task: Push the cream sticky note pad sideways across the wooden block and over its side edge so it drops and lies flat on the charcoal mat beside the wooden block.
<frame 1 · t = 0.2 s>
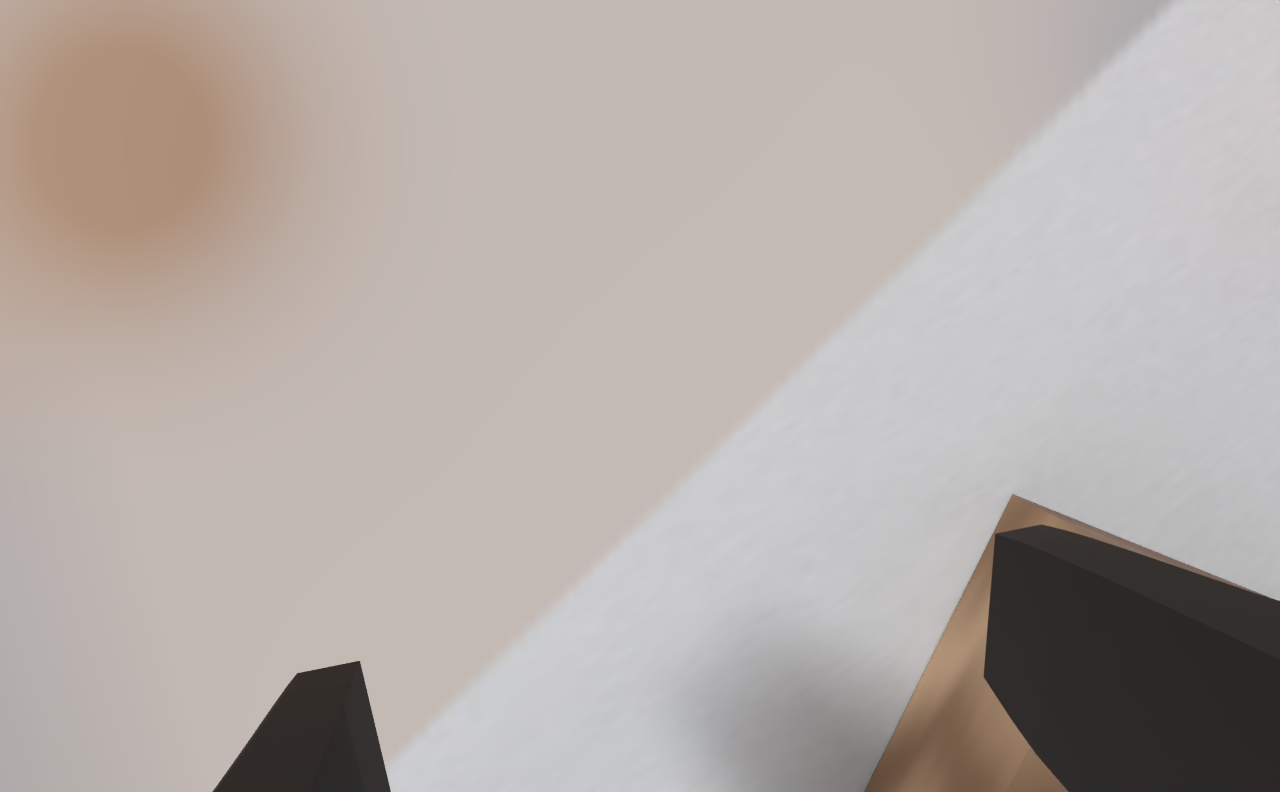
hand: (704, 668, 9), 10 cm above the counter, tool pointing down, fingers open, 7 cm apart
wooden block: (1067, 778, 24), on the counter
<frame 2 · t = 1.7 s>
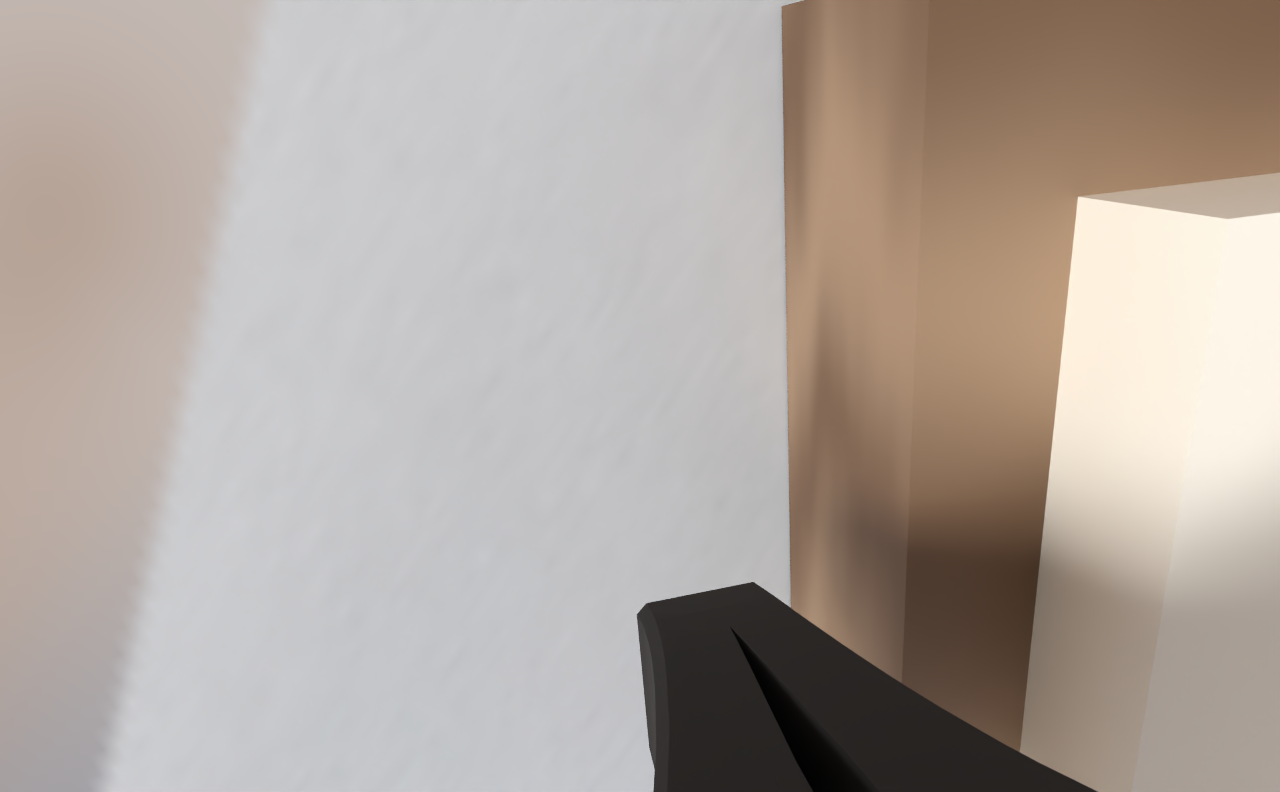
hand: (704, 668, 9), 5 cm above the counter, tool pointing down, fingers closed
wooden block: (1089, 396, 16), on the counter
cream sticky note pad: (1230, 498, 12), point 4 cm above the counter, touching wooden block
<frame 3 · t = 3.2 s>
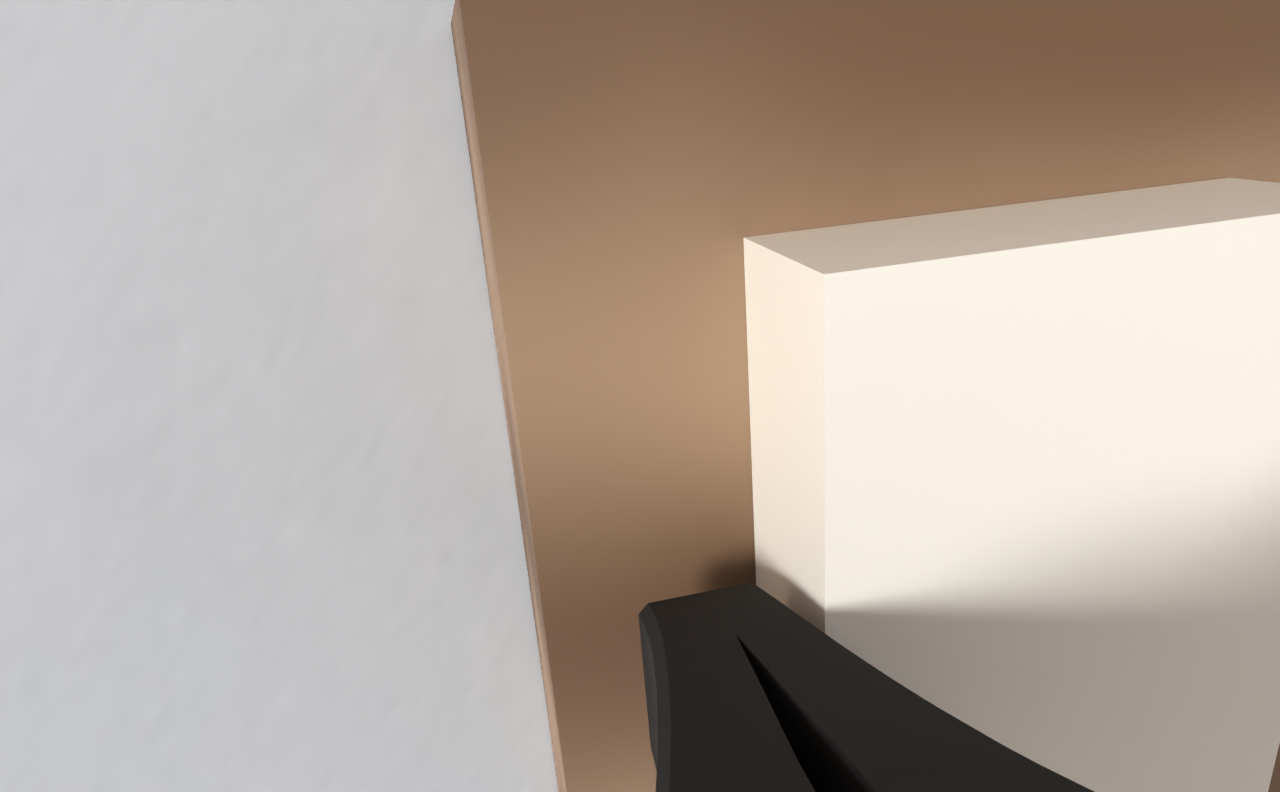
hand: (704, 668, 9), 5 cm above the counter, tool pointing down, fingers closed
wooden block: (859, 437, 15), on the counter
cream sticky note pad: (975, 556, 11), point 4 cm above the counter
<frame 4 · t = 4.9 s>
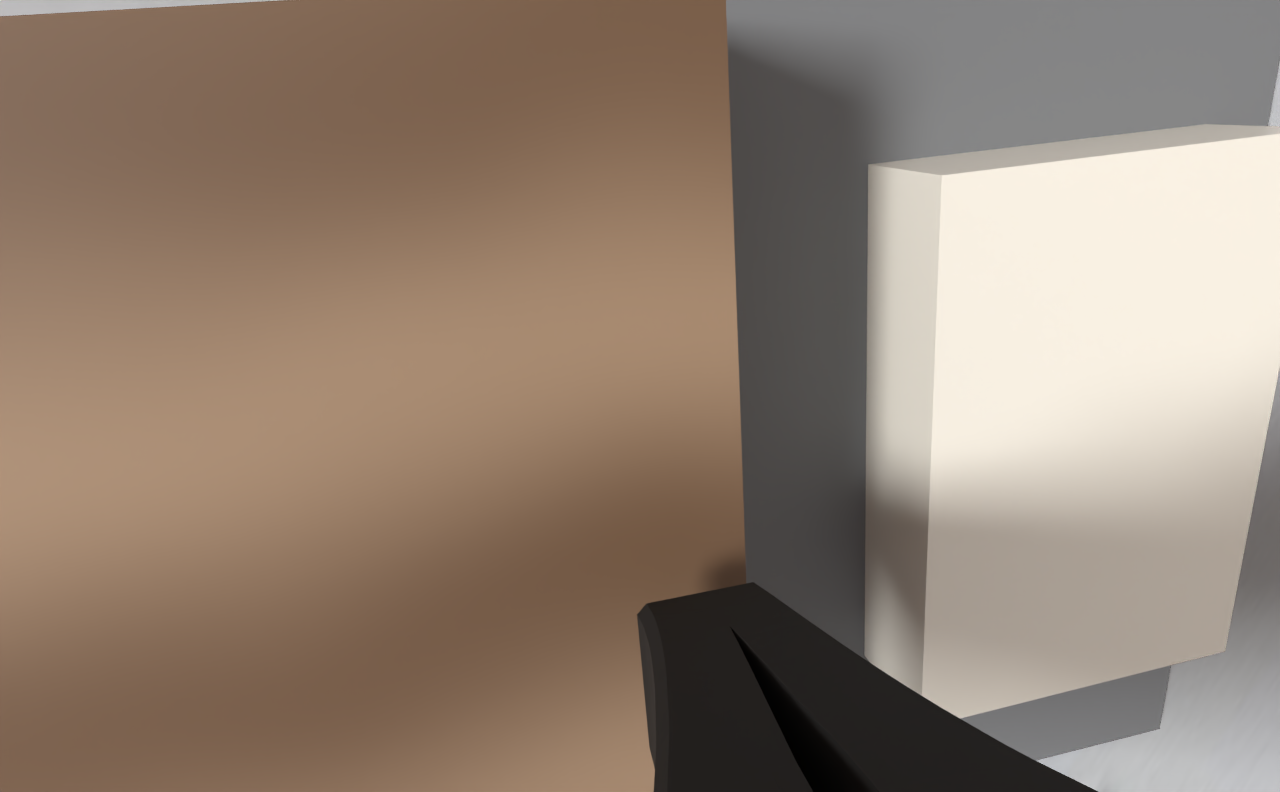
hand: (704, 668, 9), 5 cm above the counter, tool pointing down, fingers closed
wooden block: (290, 534, 13), on the counter
cream sticky note pad: (1106, 452, 13), point 2 cm above the counter, tilted 180°, touching mat
mat: (966, 420, 15), on the counter
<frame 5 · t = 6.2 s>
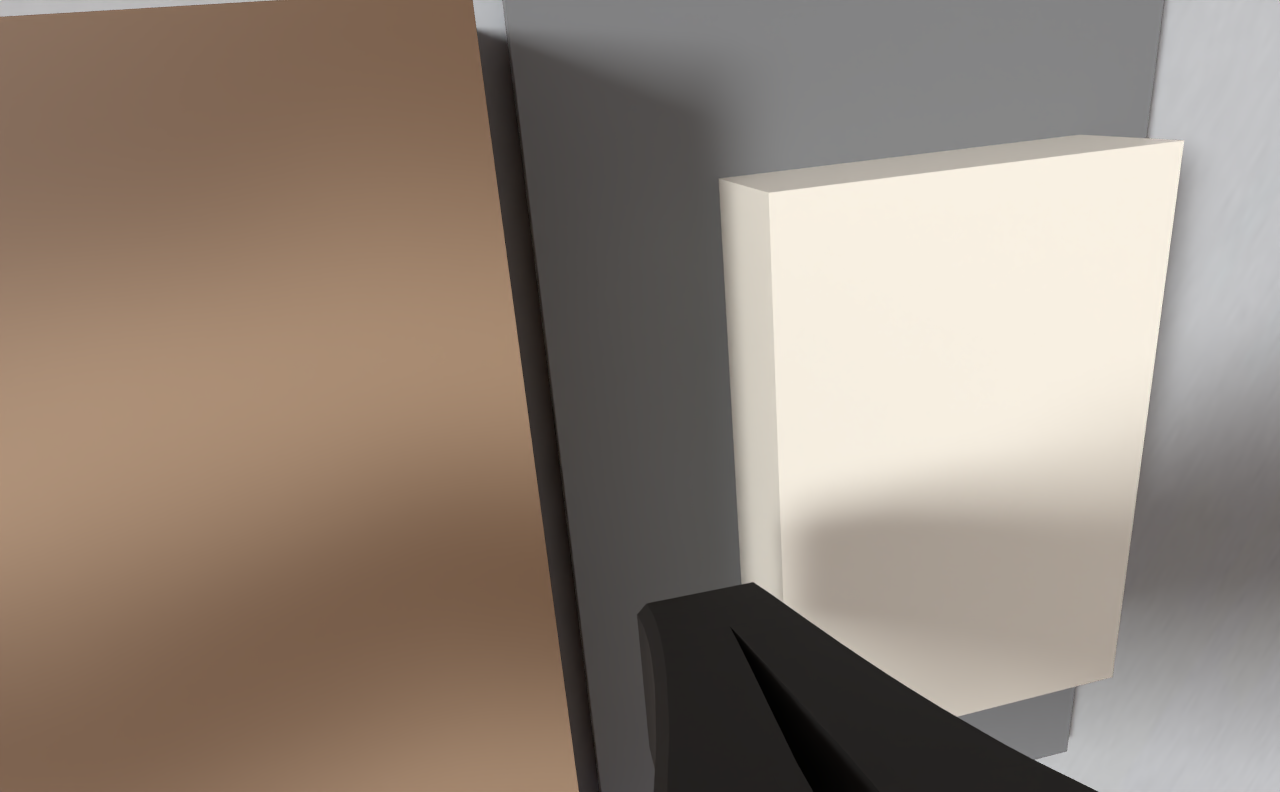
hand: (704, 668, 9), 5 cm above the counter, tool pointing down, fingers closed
wooden block: (124, 563, 12), on the counter
cream sticky note pad: (969, 476, 12), point 2 cm above the counter, tilted 180°, touching mat
mat: (845, 440, 15), on the counter
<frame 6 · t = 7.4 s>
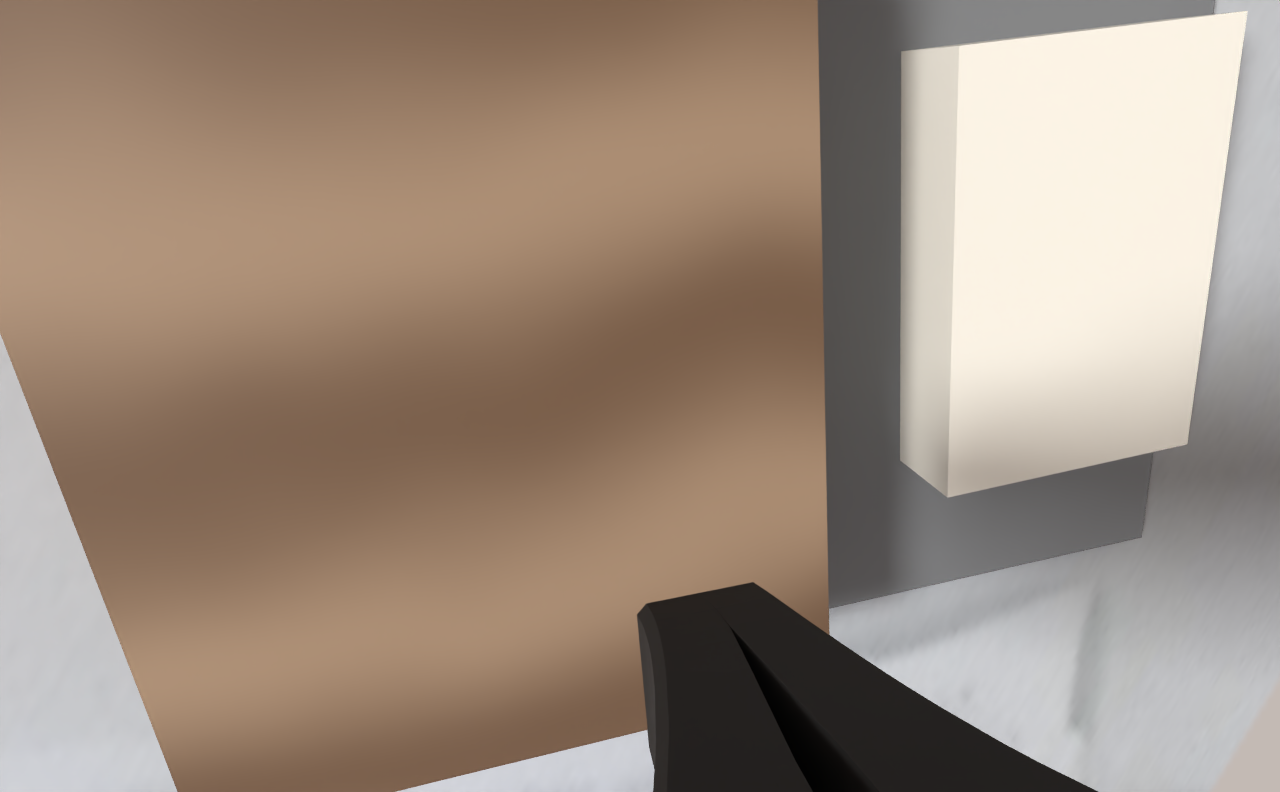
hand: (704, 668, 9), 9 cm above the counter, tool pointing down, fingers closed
wooden block: (464, 346, 17), on the counter
cream sticky note pad: (1087, 270, 17), point 2 cm above the counter, tilted 180°, touching mat
mat: (979, 266, 19), on the counter
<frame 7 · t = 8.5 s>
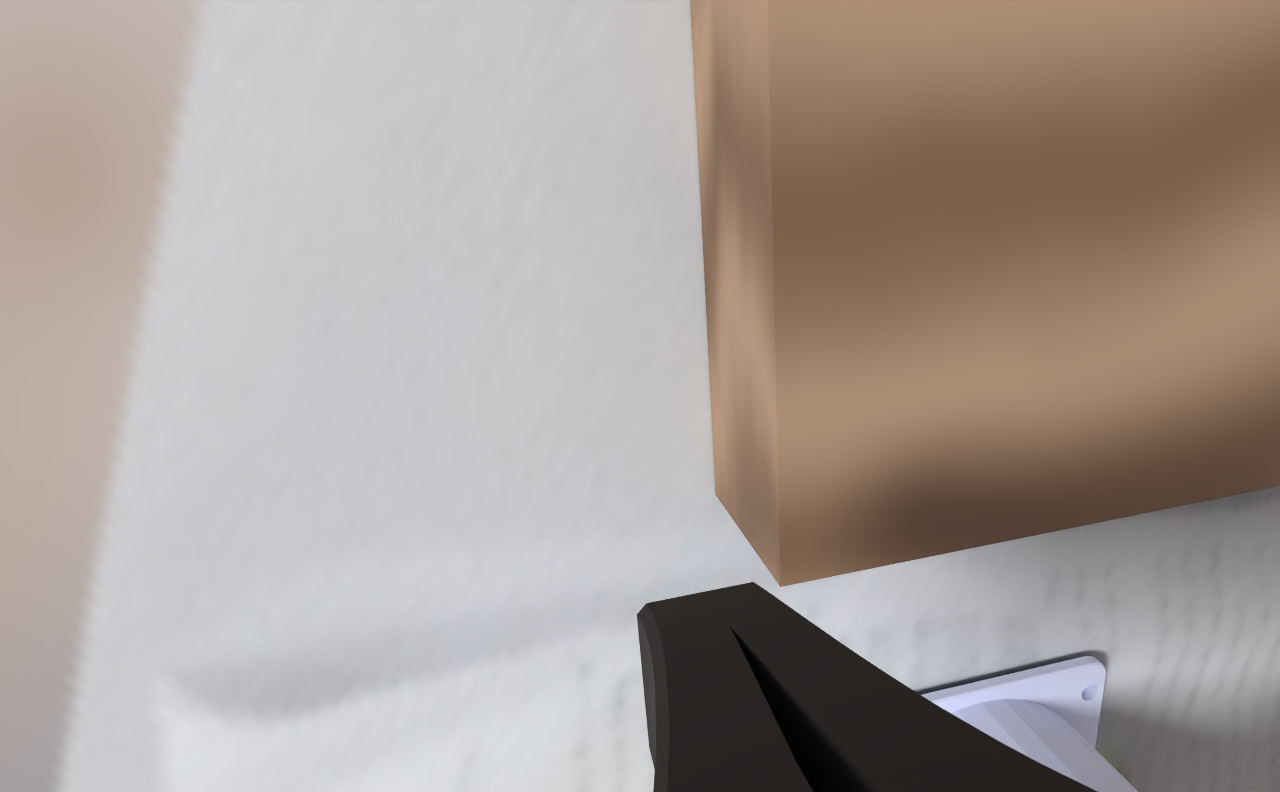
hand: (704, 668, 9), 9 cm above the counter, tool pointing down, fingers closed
wooden block: (965, 159, 18), on the counter
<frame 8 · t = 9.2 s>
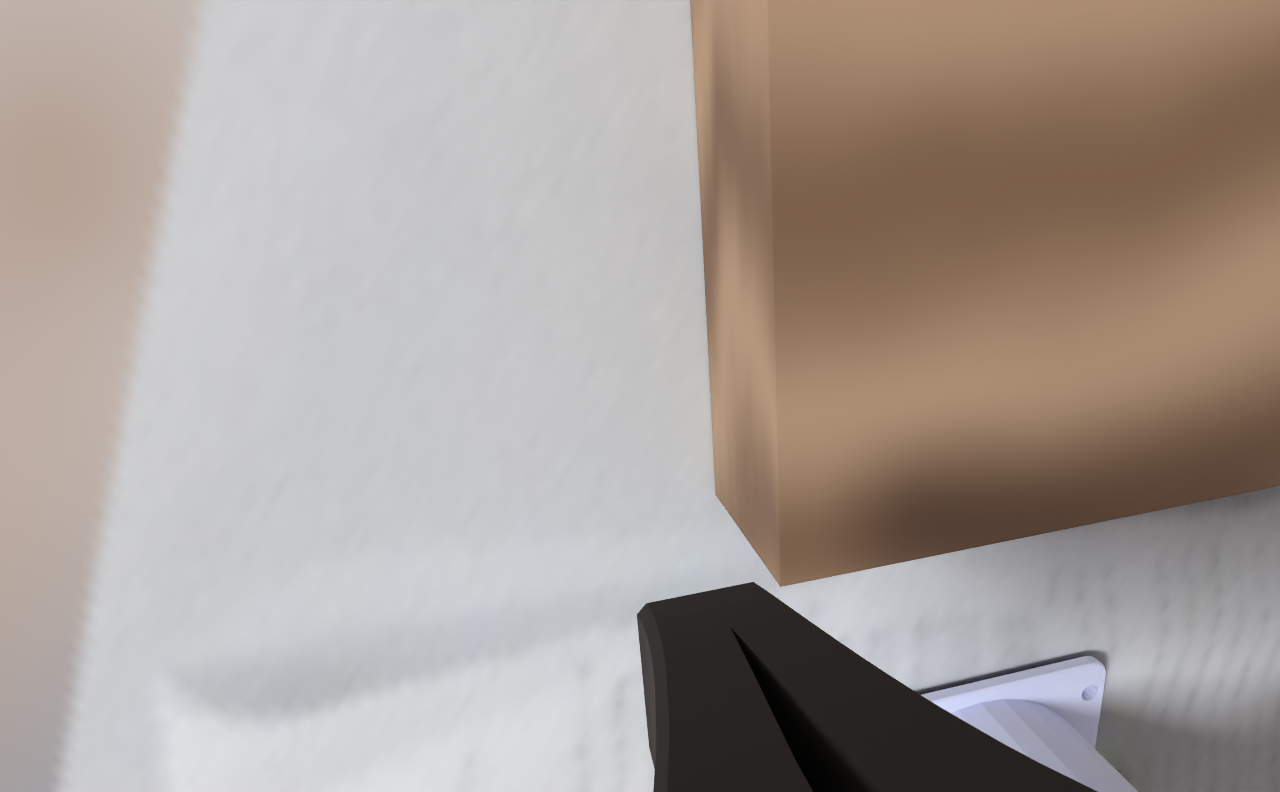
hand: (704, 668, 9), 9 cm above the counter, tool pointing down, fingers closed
wooden block: (965, 159, 18), on the counter
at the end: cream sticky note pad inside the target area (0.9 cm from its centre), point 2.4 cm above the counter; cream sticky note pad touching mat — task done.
